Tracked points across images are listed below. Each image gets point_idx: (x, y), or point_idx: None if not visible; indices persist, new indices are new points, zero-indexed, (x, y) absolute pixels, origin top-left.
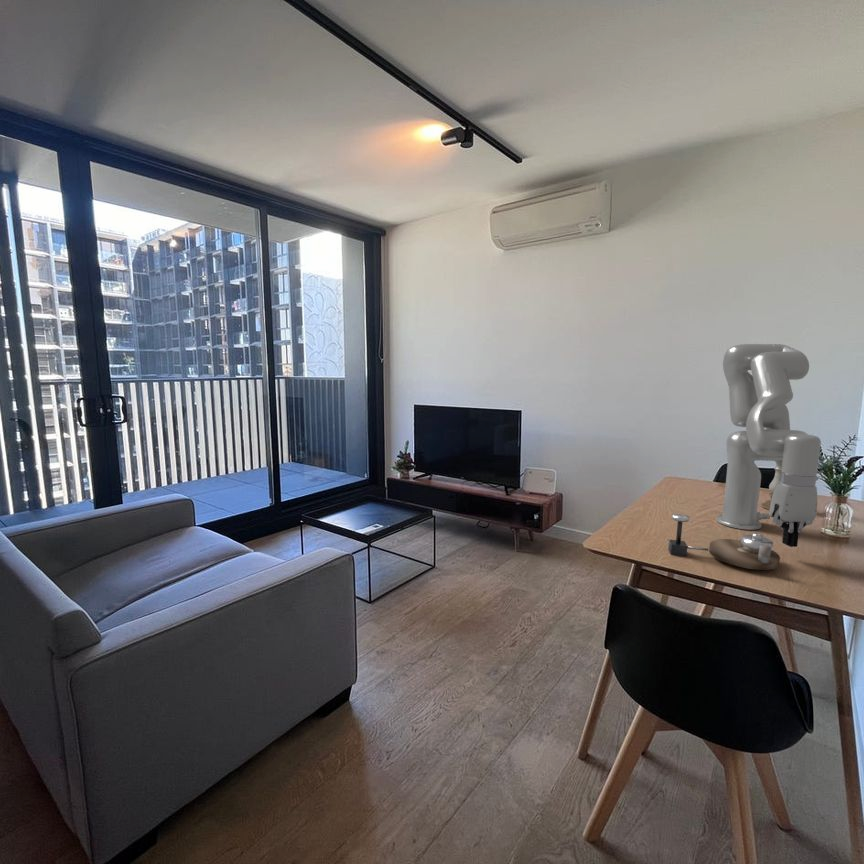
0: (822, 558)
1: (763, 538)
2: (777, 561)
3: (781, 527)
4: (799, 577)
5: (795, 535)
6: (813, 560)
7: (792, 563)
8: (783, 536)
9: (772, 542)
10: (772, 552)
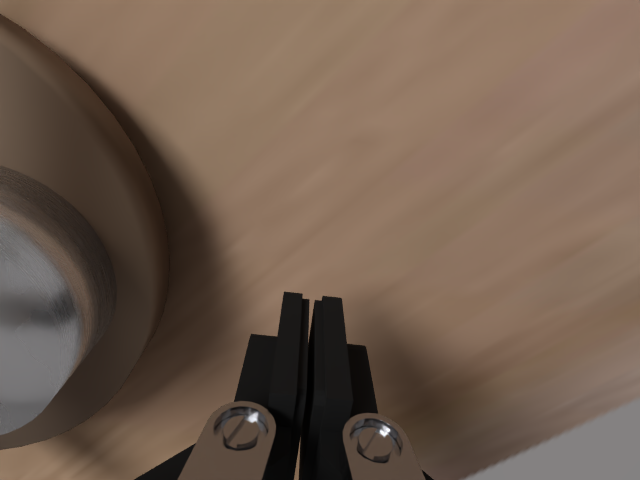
0: (575, 291)
1: (7, 322)
2: (44, 437)
3: (204, 428)
4: (165, 443)
5: (299, 474)
6: (477, 304)
7: None
8: (242, 368)
9: (34, 414)
10: (114, 334)
